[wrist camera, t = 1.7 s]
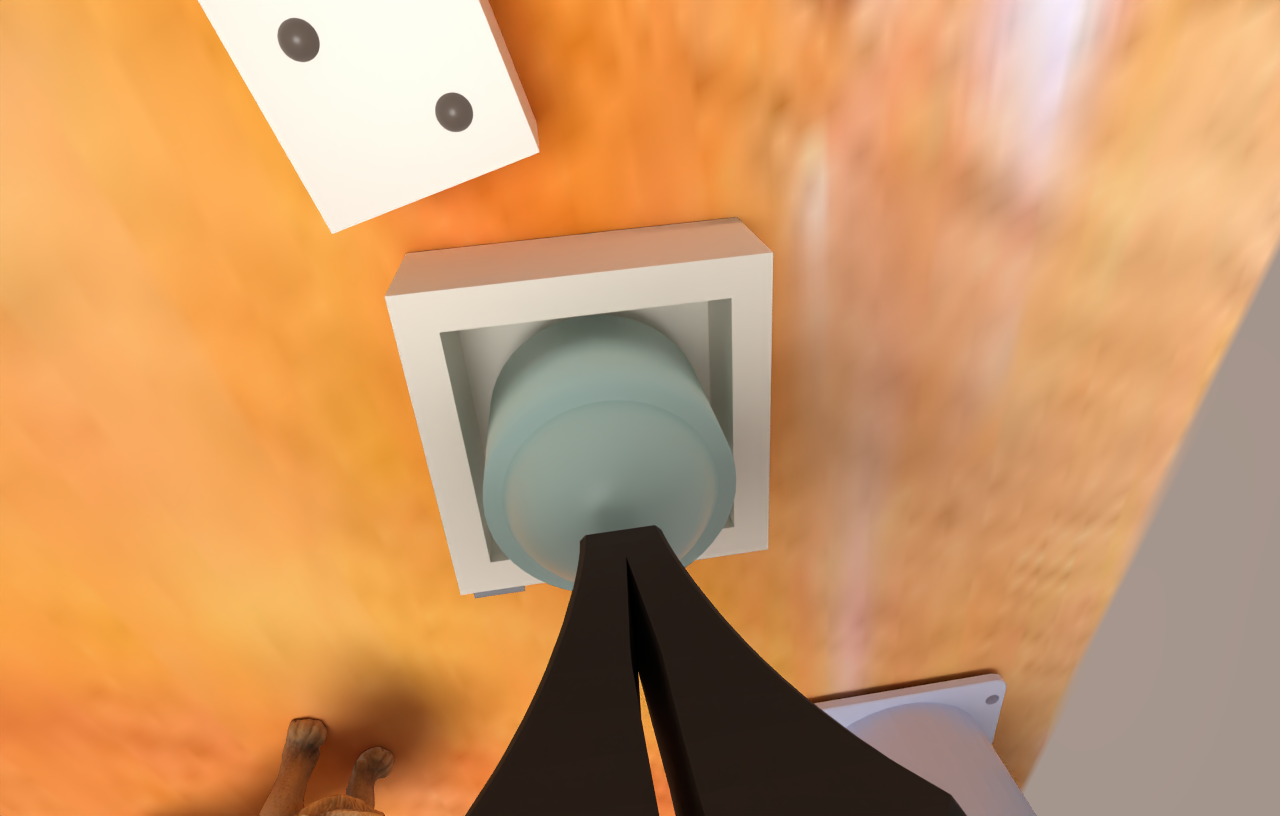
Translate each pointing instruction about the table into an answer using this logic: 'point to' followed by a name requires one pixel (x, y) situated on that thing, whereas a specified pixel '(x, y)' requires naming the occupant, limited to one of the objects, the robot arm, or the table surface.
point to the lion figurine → (298, 761)
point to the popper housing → (569, 288)
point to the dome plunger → (601, 446)
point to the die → (380, 95)
